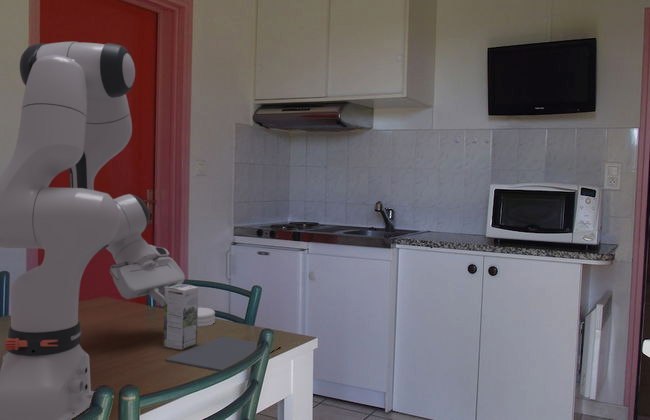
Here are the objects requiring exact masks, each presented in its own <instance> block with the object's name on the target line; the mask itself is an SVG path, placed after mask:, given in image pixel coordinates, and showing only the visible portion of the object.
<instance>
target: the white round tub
mask: <svg viewBox="0 0 650 420" xmlns="http://www.w3.org/2000/svg"><path fill="white" fill-rule="evenodd" d="M215 314H216V312H215V310H214V309H212V308H209V307H198V319H197V328H202V327H204V328H205V327H209V326H212V325H214V324H215V322H216V317H215V316H216V315H215ZM213 323H214V324H213Z"/></svg>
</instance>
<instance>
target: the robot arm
mask: <svg viewBox="0 0 650 420" xmlns="http://www.w3.org/2000/svg"><path fill="white" fill-rule="evenodd" d="M19 73H20V78H21V81H22V82H23V83H22V84H24V86H25V88H24V93H23V99H22V104H21V105H22V106H21V114H20V120H19V121H20V122H19V128H18V129H19V130H18V134H17V140H16V145H15V149H14V152H13V154H12V156H11V158H10V160H9V162H8V163H7V165H6V167H5V168H4V170H3V171H2V172H1V174H0V248H4V249H41V250H44V257H43V261H42V262H41V264H39V265H38V266H35V267H34V268H32V269H29V270H28V271H24V273H21V275H20V276H18V277H17V278H16V279H15V280H14V282H13V284H12V285H11V289H10V326H9V328H8V333H7V336H6V339H5V342H4V346H5V347H4V349H5V351H7V352H6V353H5V354H4V355H3V356H2V363H1V366H0V420H71V419H72V418H74V417H76V416H77V415H79V414H80V413H82V412H83V411H85V410H86V409H87V408H89V406H90V403H91V399H92V396H93V393H94V392H95V391H93V390H92V389H91V388H92V387H91V368H90V367H91V366H90V355H89V354H88V353H87V352H86V351H85V350H84V349H83V348H82V347H81V344H80V343H81V342H82V341H81V340H82V337H81V335H82V329H81V323H80V321H79V297H80V286H81V281H82V277H83V274H84V272H85V269H86V268H87V266H88V265H89V263H90V261H91V260H92V258H94V257H95V255H96V254H97V253H99V252H100V251H103V250H105V249H106V250H107V251H108V252H109V253H111V255H112V257H113V261H114V262H115V263H114V264H113V263H112V265H110V267H109V271H108V272H109V273H110V275H111V277H112V280H113V282H114V285H115V287H116V289H117V290H118V292H119V294H120V295H121V297H123V298H124V299H125V300H130V299H131V300H132V299H135V298H139V297H143V296H144V297H145V296H148V295H149V297H150V298H151V299H153V300H154V301H156V302H158V303H159V305H160V306H161V307H165V288H167V287H171V286H176V285H180V284H184V281H185V280H186V276H185V273H184V272H183V270H182V269H181V267H180V266H179V265H178V264H177V262H176V261H175V260H174V259H173V258H172V257H170V252H169V251H168V250H167V249H166V248H165V247H158V246H155V245H152V244H149V243H148V242H147V241H146V240H145V239H144V238H143V237H142V233H143V232H145V230H146V229H147V226H148V224H149V222H150V218H151V213H150V212H151V211H150V210H149V208H148V206H147V204H146V203H145V201H144V200H143V199H141V198H140V197H139V196H137V195H135V194H133V193H128V194H123V195H121V196H118V197H116V198H112V196H111V195H110V194H109V193H107V192H102V191H98V190H95V189H94V188H95V187H94V185H95V183H94V182H95V179H96V176H97V174H98V172H99V171H100V170H101V169H102V167H104V166H105V165H106V164H107V163H108V162H109V161H110V160H111V159H113V158H115V157H116V156H117V155H118V154H119V153H121V152H122V151H123V150H124V149H125V148H126V146H128V143H129V142H130V139H131V137H132V135H133V133H132V132H133V123H132V116H131V112H130V106H129V102H128V101H129V100H128V97H127V94H128V93H129V92H130V91H131V90H132V89H133V87H134V85H135V78H136V68H135V63H134V59H133V56H132V55H131V52H130V51H129V50H128V49H126V47H125V46H123V45H120V44H116V43H111V42H107V43H105V44H103V43H95V42H79V41H62V42H61V41H60V42H51V43H46V42H41V43H35V44H32V45H29V46H28V47H27V48H26V49H25V50H24V52H23V53H21V57H20V60H19ZM67 170H68V174H69V175H68V177H69V187H50V184H51V183H52V181H53V180H54V179H55V178H56V176H58V175H59V174H60V173H62V172H64V171H67Z"/></svg>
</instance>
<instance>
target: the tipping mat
mask: <svg viewBox="0 0 650 420" xmlns="http://www.w3.org/2000/svg"><path fill="white" fill-rule="evenodd" d="M257 342H258V341H253V340H245V339H239V338H233V337H228V336H221V337H218V338H215V339H213V340H209V341H207V342H205V343H203V344H200V345H197V346H195V347H191V348H190V349H188V350H185V351H182V352H180V353H176V354H175V355H173V356H169V357H167V358H165V360H164V361H165V362H169V363H175V364H181V365H185V366H189V367H190V366H192V367H195V368H201V369H205V370H212V371H216V372H221V371H220V370H222V369H224V368H226V367H228V366H231V365H233V364H234V363H236V362H238V361H240V360H242V359H243V358H245V357H247V356H248V355H250V354H251V353H253V352H254V350H255V349H256V347H257Z"/></svg>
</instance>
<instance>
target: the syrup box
mask: <svg viewBox="0 0 650 420" xmlns="http://www.w3.org/2000/svg"><path fill="white" fill-rule="evenodd" d="M198 308H199V287H198V286H195V285H192V284H184V283H182V284H180V285H176V286H171V287H167V288H165V306H164V308H163V310H164V314H163V316H164V317H163V324H164V325H163V347H164V348H170V349H175V350H181V351H183V350H186V349H188V348H190V347H191V348H192V347H193V346H196V345H197V343H198V327H197V319H198Z"/></svg>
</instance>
